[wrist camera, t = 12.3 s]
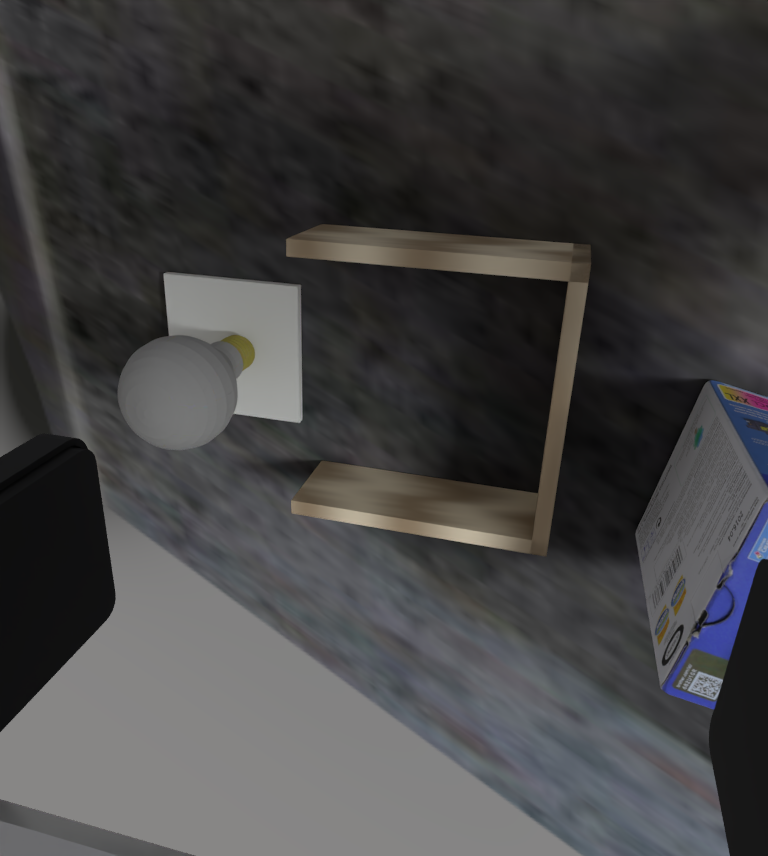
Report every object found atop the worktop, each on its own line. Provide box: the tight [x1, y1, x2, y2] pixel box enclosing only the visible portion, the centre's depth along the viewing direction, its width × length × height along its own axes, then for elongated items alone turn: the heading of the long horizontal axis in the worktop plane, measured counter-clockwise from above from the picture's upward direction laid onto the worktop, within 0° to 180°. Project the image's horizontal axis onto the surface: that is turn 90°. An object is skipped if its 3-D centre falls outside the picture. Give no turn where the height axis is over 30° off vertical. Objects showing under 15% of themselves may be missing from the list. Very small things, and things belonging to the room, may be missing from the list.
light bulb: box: [118, 335, 255, 450], centre depth 36 cm, size 6×6×10 cm
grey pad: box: [163, 272, 302, 423], centre depth 41 cm, size 8×8×1 cm
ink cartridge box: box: [635, 380, 768, 709], centre depth 31 cm, size 10×6×14 cm, turn 167°
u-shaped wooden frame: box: [286, 224, 591, 556], centre depth 37 cm, size 14×15×5 cm
